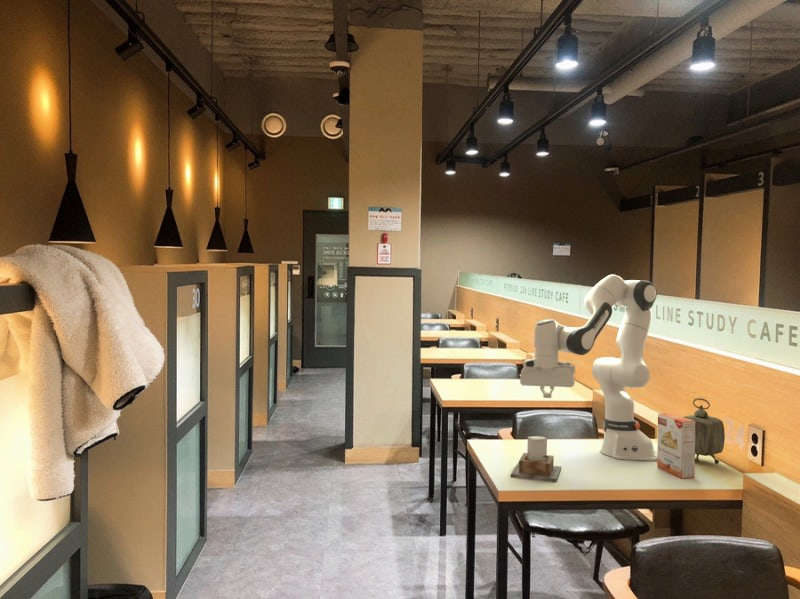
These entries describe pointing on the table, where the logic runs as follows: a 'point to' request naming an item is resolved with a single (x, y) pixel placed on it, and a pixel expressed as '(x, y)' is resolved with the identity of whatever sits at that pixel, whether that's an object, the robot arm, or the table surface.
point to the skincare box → (537, 449)
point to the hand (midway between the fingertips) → (547, 397)
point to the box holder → (536, 469)
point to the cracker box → (676, 445)
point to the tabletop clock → (707, 433)
